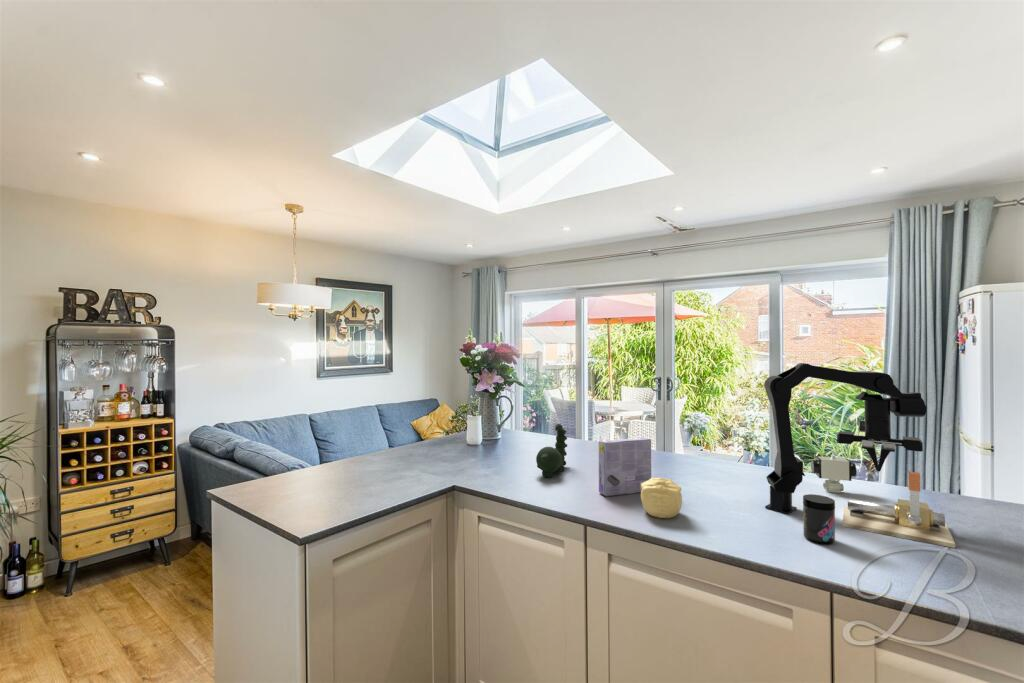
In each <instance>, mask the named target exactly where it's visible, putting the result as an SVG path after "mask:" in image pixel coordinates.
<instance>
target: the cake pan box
mask: <svg viewBox="0 0 1024 683" xmlns="http://www.w3.org/2000/svg"><path fill="white" fill-rule="evenodd" d="M651 478H652V439H651V438H648V437H638V438H637V437H636V438H620V439H608V440H607V439H606V440H598V492H599V493H600V494H601V495H603V496H604V497H612V496H619V495H632V494H635V493H641V491H642V488H641V484H642V483H643V482H646V481H648V480H650V479H651Z"/></svg>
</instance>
